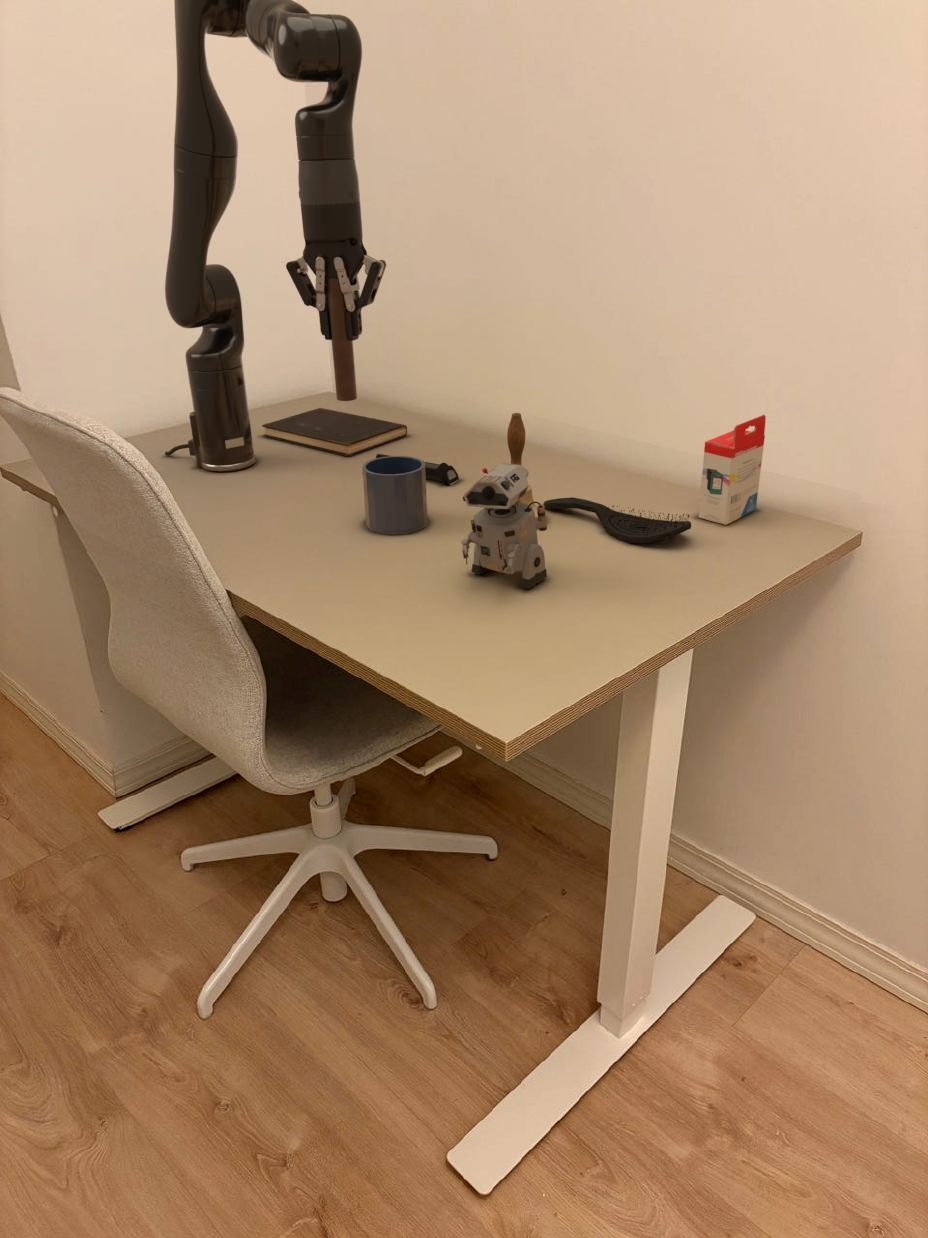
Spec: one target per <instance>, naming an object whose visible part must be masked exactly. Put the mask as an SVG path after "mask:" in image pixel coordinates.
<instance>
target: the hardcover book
mask: <svg viewBox="0 0 928 1238" xmlns="http://www.w3.org/2000/svg"><path fill="white" fill-rule="evenodd" d="M261 427H262V428H264V432H265V433H264V434H263V435H262V437H264V438H268V439H272V440H275V441H281V442H285V443H289V444H292V445H297V446H300V447H301V446H302V447H306V448H310V449H314V450H317V451H318V450H319V451H323V452H328V453H330V454H331V453H332V454H336V455H339V456H344V457H348V458H350V457H352V456H355V455H357V454H360V453H363V452H366V451H369V450H372V449H375V448H377V447H380V446H383V445H386V444H388V443H391V442H394V441H396V440H400V439H403V438H405V437H407V434H408V426H407V425H406V424H403V423H398V422H393V421H389V420H383V419H377V418H374V417H369V416H364V415H359V414H353V413H350V412H343V411H339V410H333V409H330V408H329V409H328V408H323V407H318V408H314V409H312V410H309V411H308V410H307V411H304V412H301V413H298V414H293V415H291V416H287V417H284V418H281V419H278V420H277V419H276V420H274V421H271V422H268V423H264V424H262V425H261Z"/></svg>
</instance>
